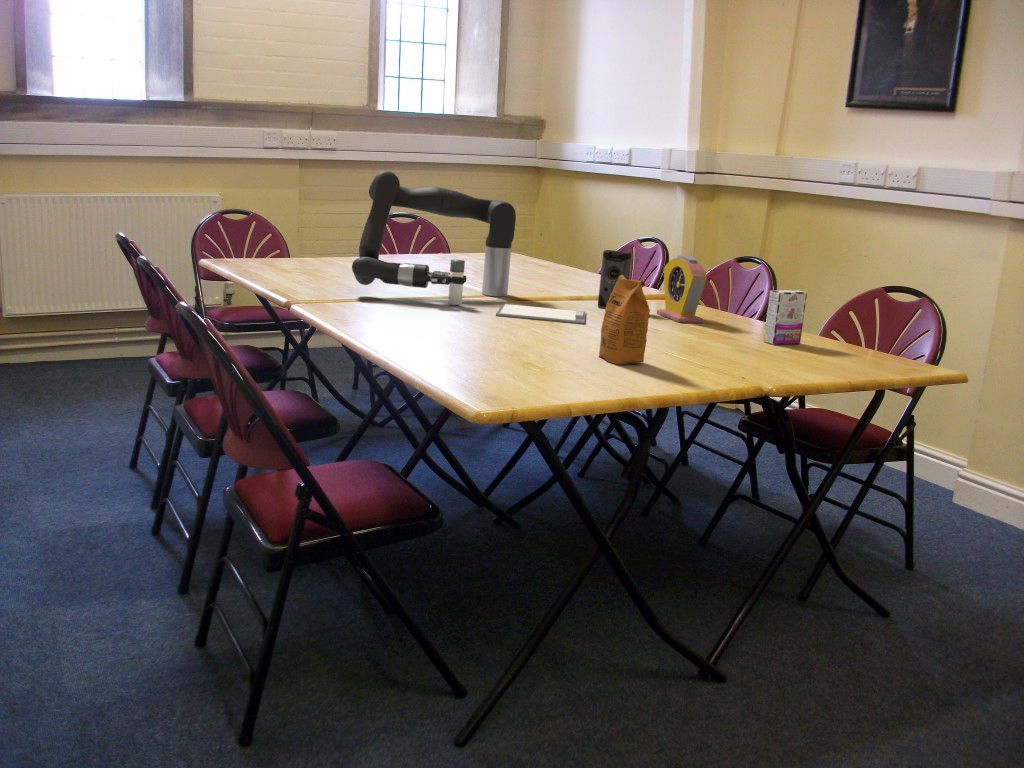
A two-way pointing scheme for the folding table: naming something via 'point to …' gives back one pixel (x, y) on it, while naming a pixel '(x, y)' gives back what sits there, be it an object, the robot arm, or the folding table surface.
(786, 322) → the candy bar box
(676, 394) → the folding table surface
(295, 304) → the folding table surface
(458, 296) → the marker
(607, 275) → the electronic device
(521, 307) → the clipboard
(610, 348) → the coffee package
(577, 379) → the folding table surface
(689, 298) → the yellow desk clock
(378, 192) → the robot arm
